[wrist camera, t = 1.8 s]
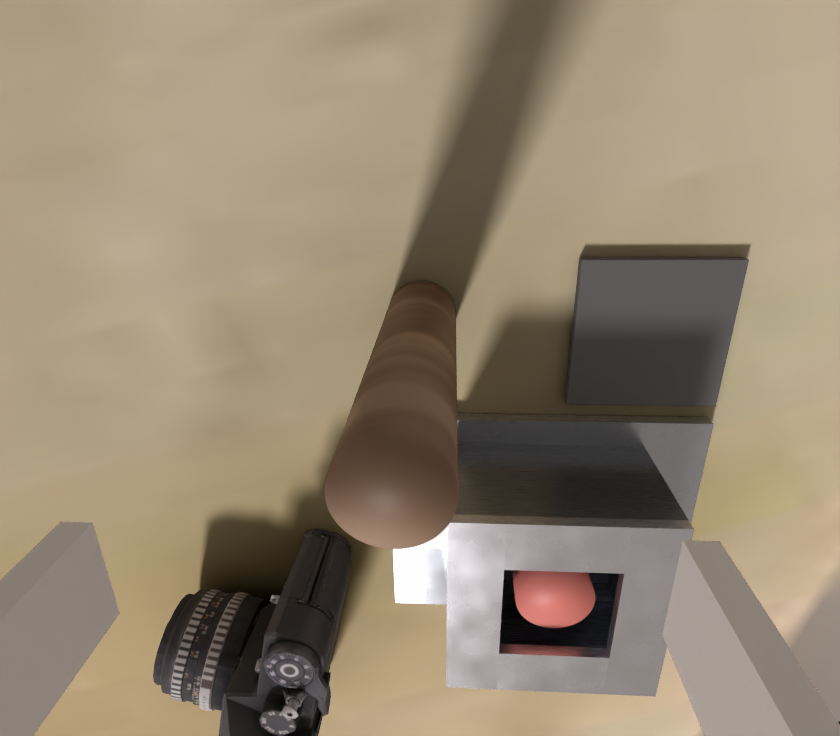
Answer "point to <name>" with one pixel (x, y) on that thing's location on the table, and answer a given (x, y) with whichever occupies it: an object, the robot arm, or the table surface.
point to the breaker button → (553, 597)
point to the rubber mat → (652, 330)
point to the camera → (261, 647)
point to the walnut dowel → (402, 428)
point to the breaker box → (561, 547)
